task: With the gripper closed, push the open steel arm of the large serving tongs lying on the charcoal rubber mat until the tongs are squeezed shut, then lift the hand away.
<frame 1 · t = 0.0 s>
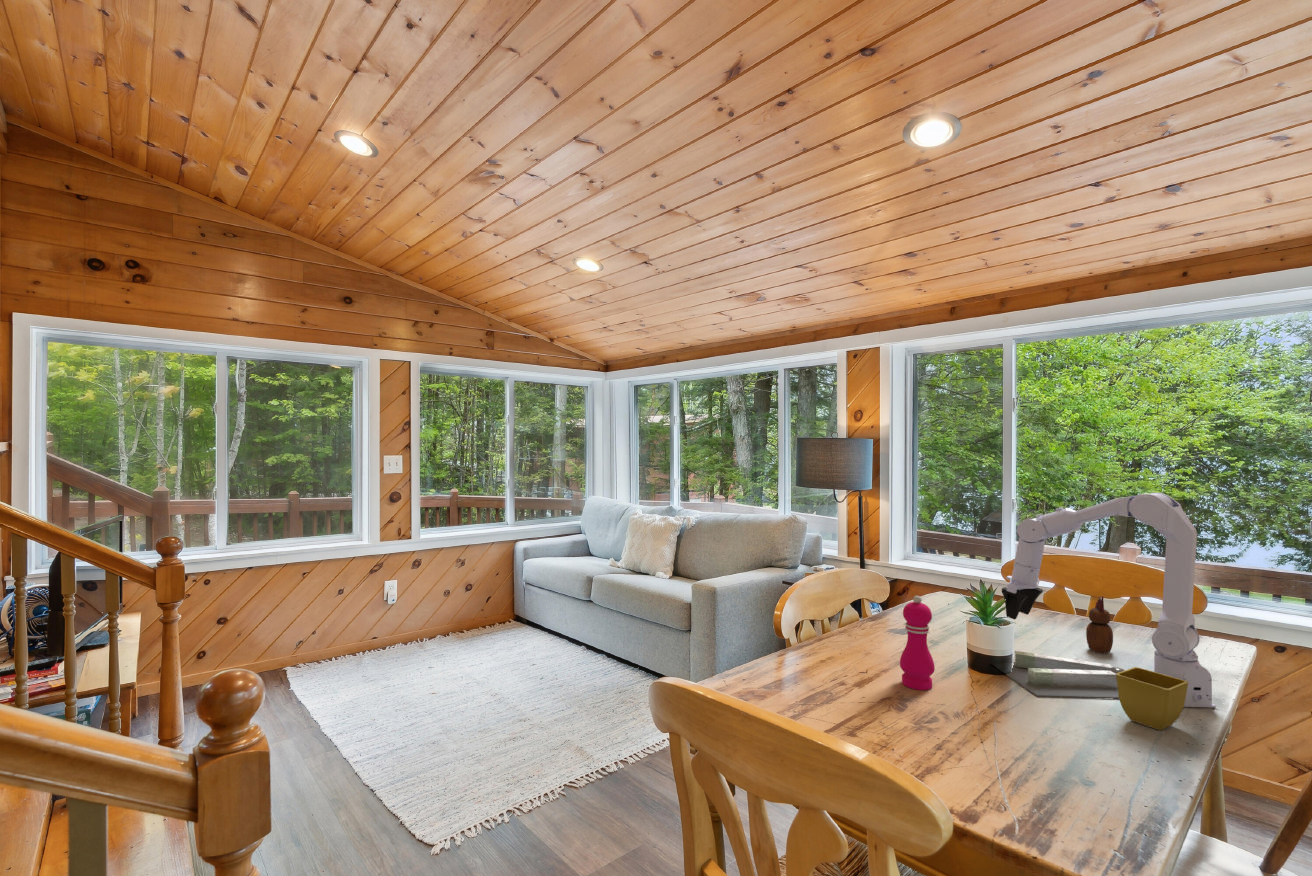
hand: (1017, 615, 157), 11 cm above the table, tool pointing down, fingers open, 7 cm apart
mat: (1071, 680, 140), on the table
flower pot: (1151, 724, 119), on the table
wooden figurine: (1099, 652, 161), on the table
pepper mill: (916, 685, 137), on the table
fixed arm: (1117, 685, 138), resting on mat
hinged arm: (1067, 667, 143), point 2 cm above the table, hinge at 25.0°
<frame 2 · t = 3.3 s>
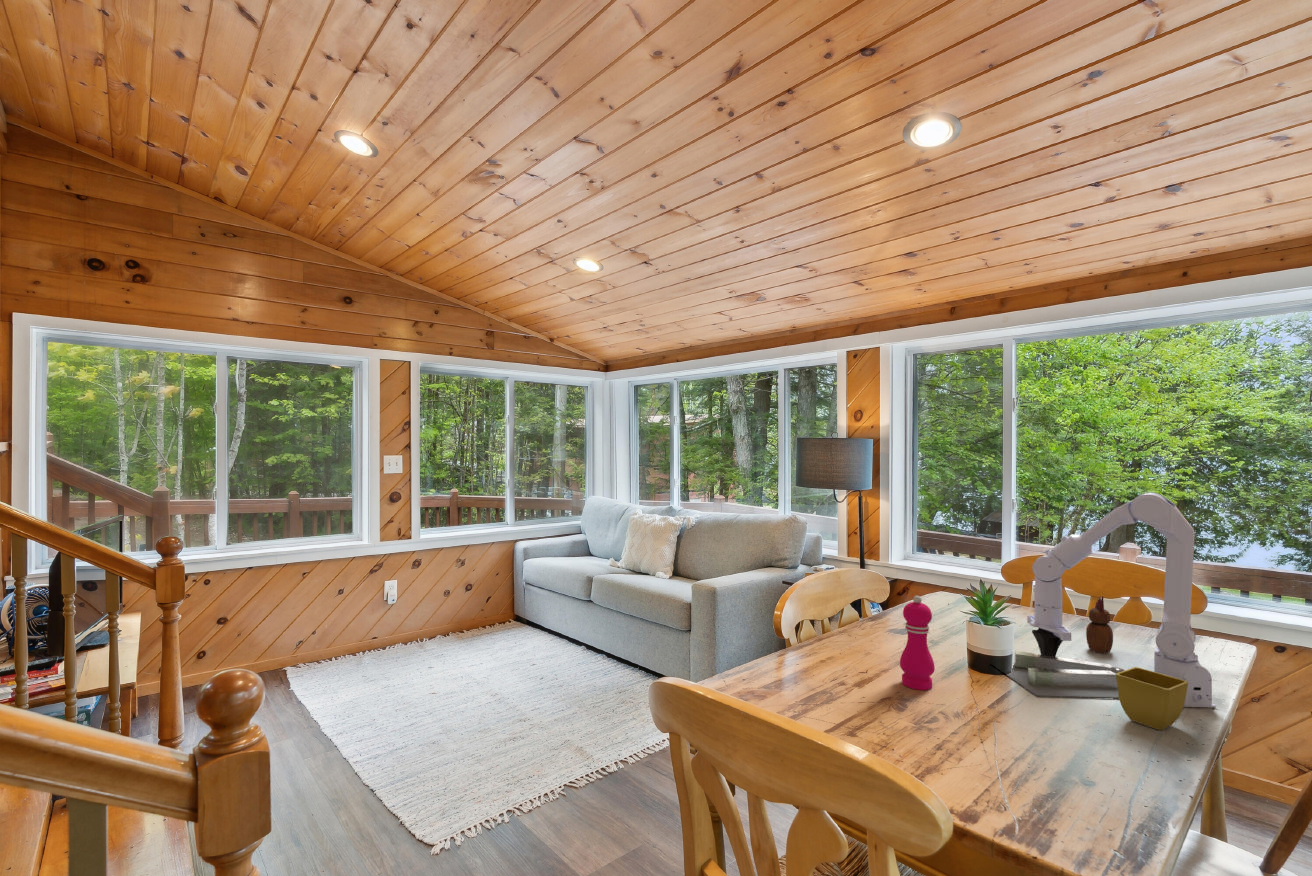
hand: (1048, 661, 148), 2 cm above the table, tool pointing down, fingers closed
hinged arm: (1067, 667, 143), point 2 cm above the table, hinge at 24.9°, touching gripper
everything else where it was.
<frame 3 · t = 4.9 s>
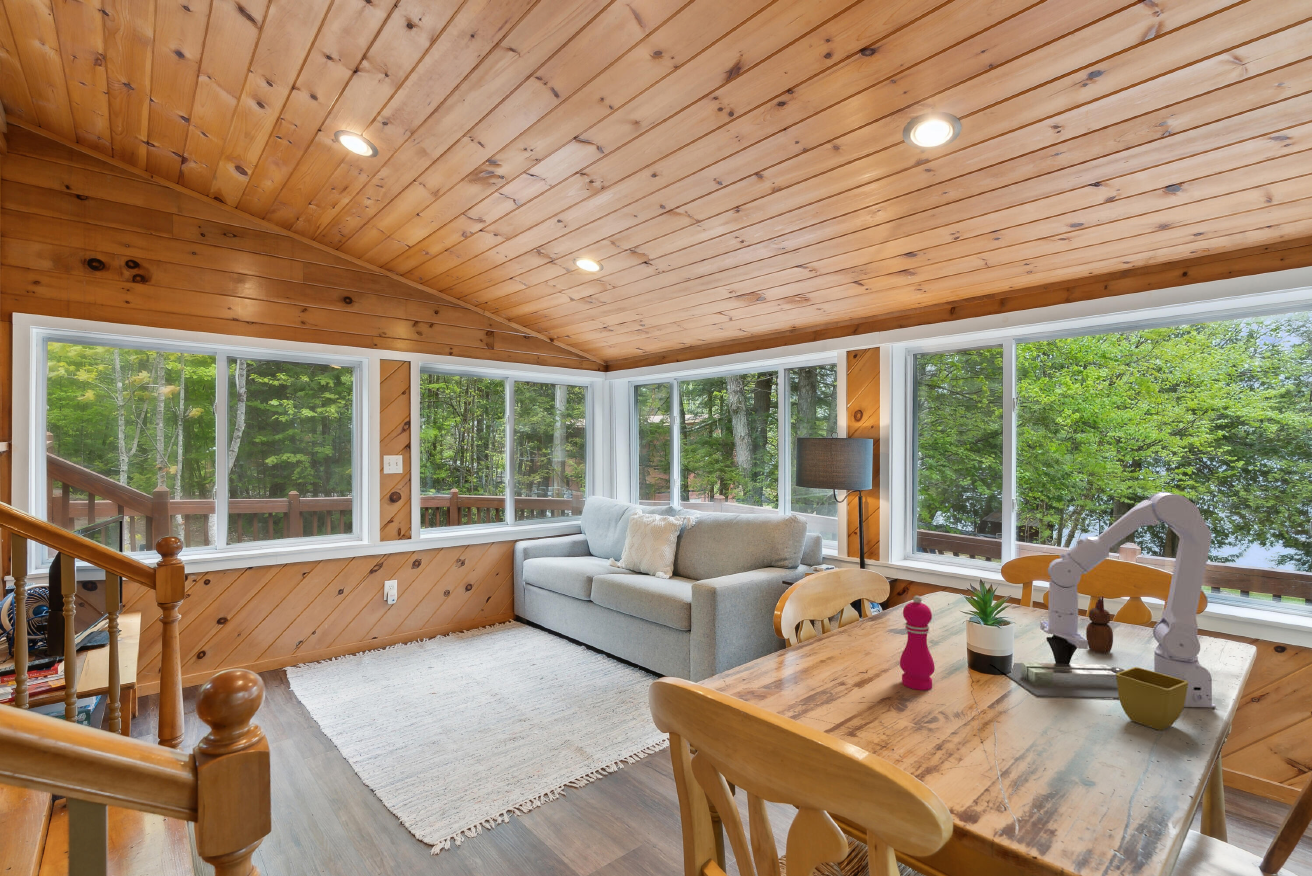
hand: (1062, 669, 142), 2 cm above the table, tool pointing down, fingers closed
hinged arm: (1073, 673, 139), point 2 cm above the table, hinge at -0.2°, touching gripper
everything else where it was.
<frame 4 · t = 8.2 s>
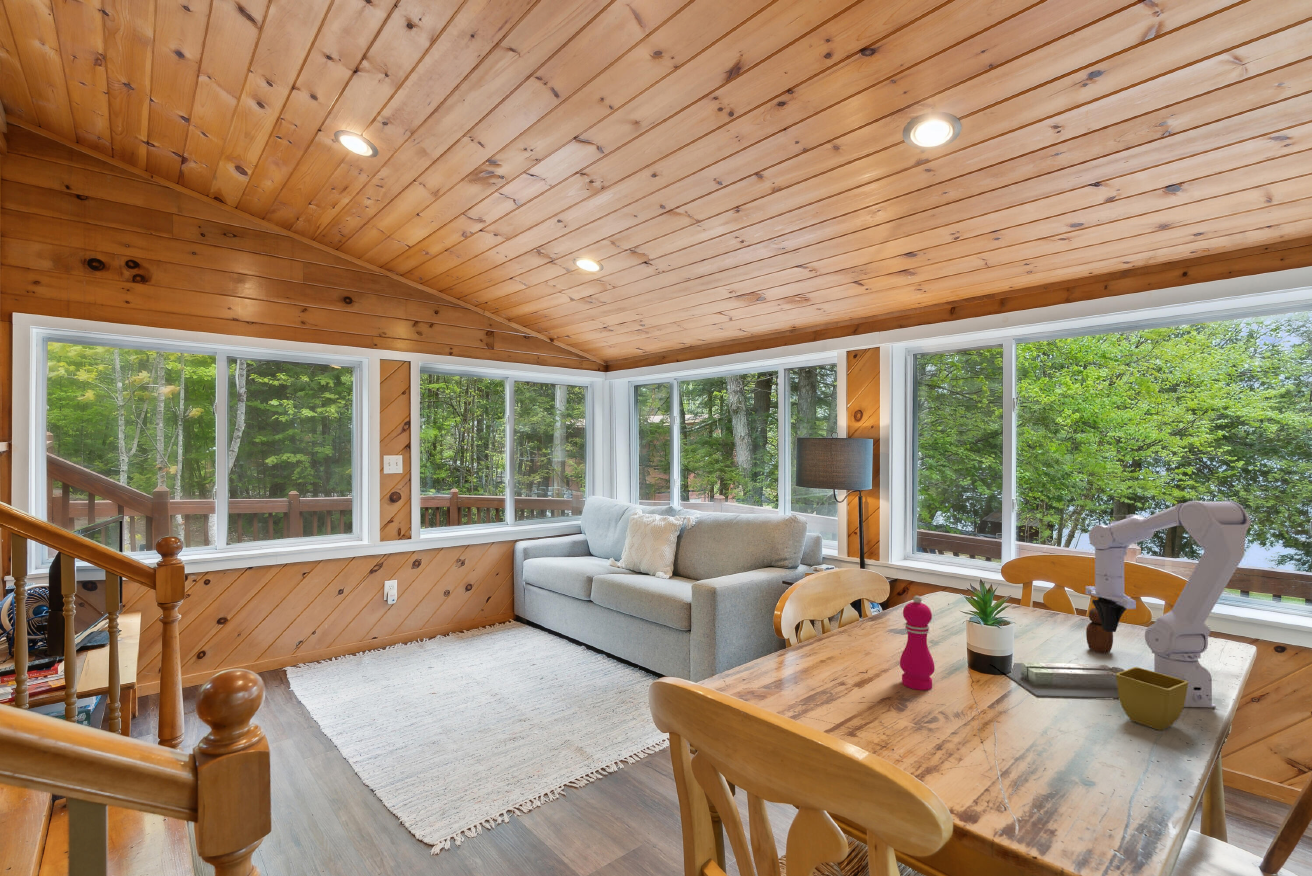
hand: (1109, 631, 148), 9 cm above the table, tool pointing down, fingers closed
hinged arm: (1073, 673, 139), point 2 cm above the table, hinge at -0.2°
everything else where it was.
at the end: hinged arm at +0° (first picture: +25°); wooden figurine moved 0.2 cm from its start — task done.
